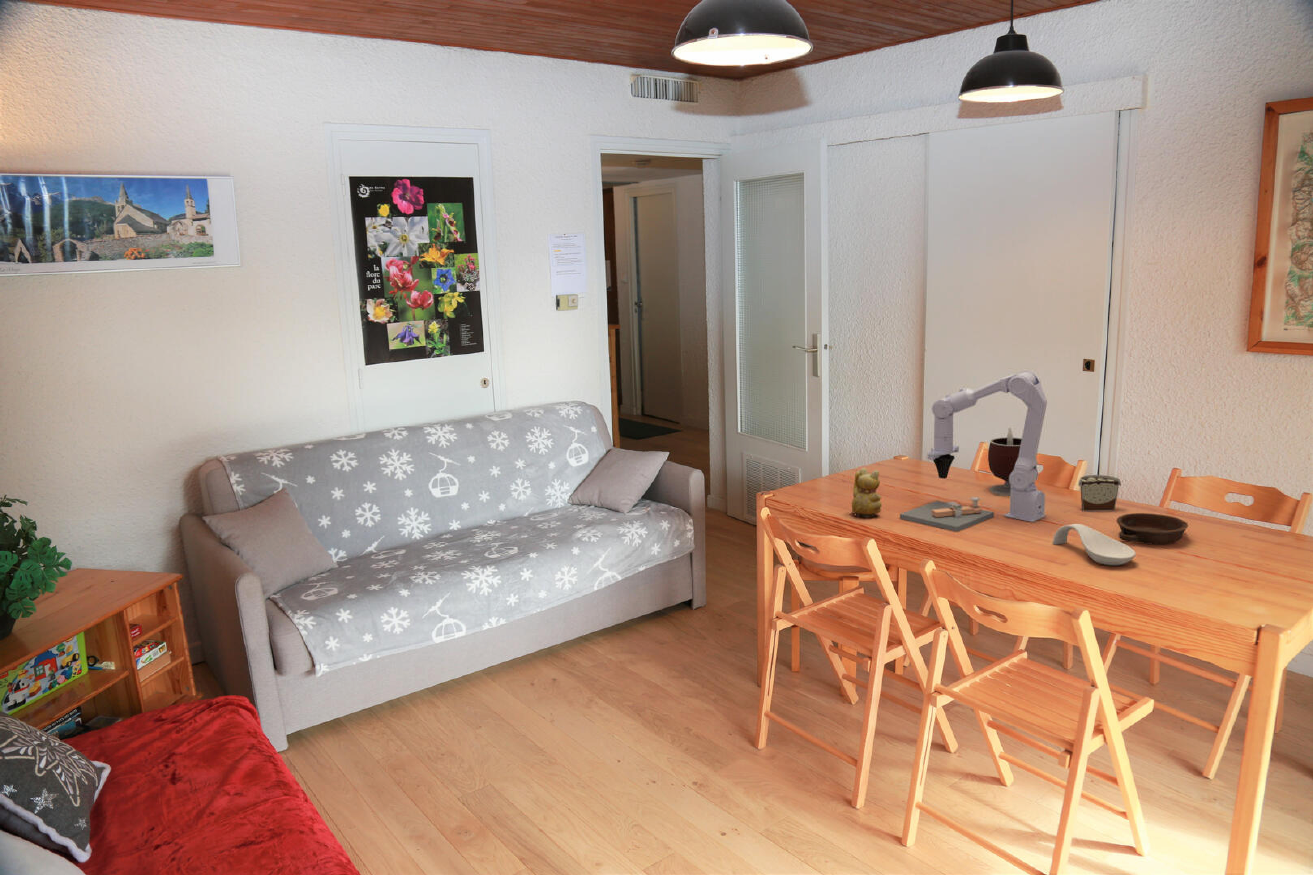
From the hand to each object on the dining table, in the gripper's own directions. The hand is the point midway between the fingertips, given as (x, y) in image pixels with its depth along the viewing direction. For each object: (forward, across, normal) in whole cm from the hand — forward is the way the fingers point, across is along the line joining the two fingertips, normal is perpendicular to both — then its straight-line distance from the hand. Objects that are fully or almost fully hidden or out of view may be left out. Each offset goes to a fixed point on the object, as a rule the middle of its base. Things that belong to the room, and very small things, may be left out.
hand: (942, 477), depth 298 cm
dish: (+10, -10, +60) cm, 62 cm away
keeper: (+8, +10, +11) cm, 17 cm away
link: (+8, +9, +11) cm, 16 cm away
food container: (+10, -28, +36) cm, 47 cm away
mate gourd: (+10, -30, +6) cm, 32 cm away
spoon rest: (+10, +14, +55) cm, 58 cm away
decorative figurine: (+10, +24, -12) cm, 28 cm away
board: (+9, +10, +8) cm, 16 cm away
